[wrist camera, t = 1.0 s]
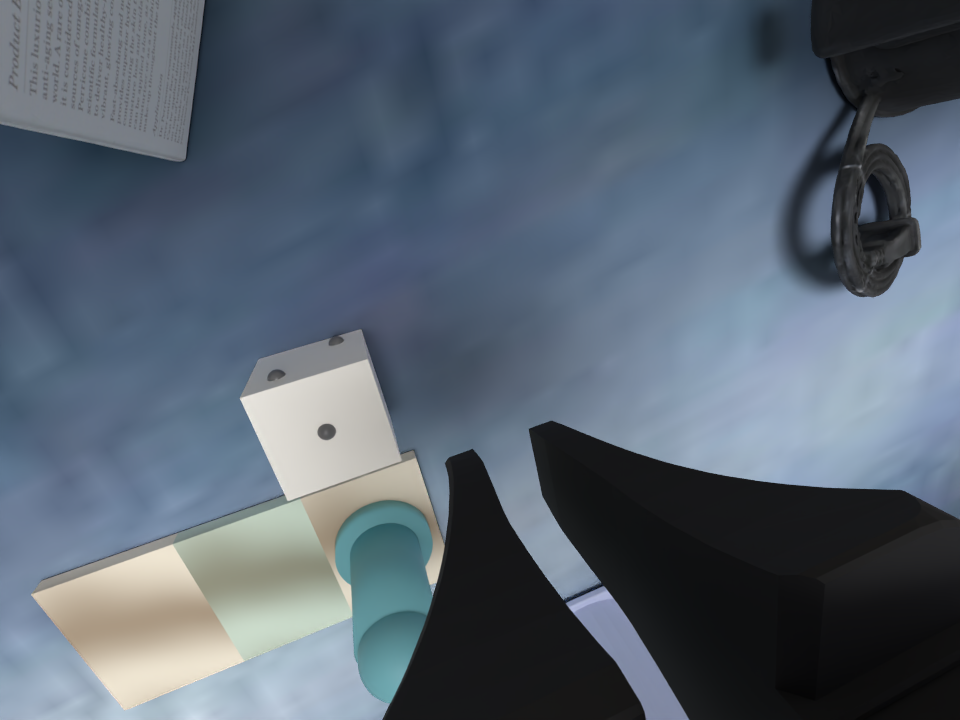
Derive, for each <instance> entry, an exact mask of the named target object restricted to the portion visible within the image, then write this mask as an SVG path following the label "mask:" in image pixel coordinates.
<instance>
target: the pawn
mask: <svg viewBox="0 0 960 720" xmlns="http://www.w3.org/2000/svg"><path fill="white" fill-rule="evenodd" d="M432 548H433V540H432V535H431V532H430V528H429V525H428V522H427V520H426V518H425V516H424V515H423V514H422V512H421V511H420V510H418V509H417V508H416V507H414V506H413V505H411V504H408V503H406V502H402V501H396V500H384V501H378V502H374V503H371V504H368V505H366V506H363V507H362V508H360V509H358V510H357V511H355V512H354V513H352V514H351V515H350V516H349V517H348V518H347V519H346V520H345V521H344V523H343V524H342V526H341V527H340V529H339V531H338V534H337V537H336V541H335V562H336V567H337V570H338V572H339V574H340V576H341V577H342V578H343V579H344V580H345V581H346V582H347V583H348V584H350V585H351V595H352V618H353V641H354V656H355V659H356V662H357V663H358V669H359V674H360V677H361V680H362V682H363V684H364V685H365V687H366V688H367V690H368V691H369V692H370V693H371V694H372V695H373V696H374V697H376V698H377V699H379V700H381V701H383V702H386V703H391V701H392V699H393V697H394V695H395V693H396V691H397V689H398V687H399V685H400V683H401V681H402V678H403V676H404V674H405V671H406V669H407V667H408V664H409V662H410V659H411V657H412V654H413V652H414V649H415V647H416V644H417V641H418V639H419V636H420V634H421V631H422V629H423V626H424V623H425V620H426V617H427V614H428V611H429V608H430V605H431V601H432V598H433V596H432V592H431V588H430V584H429V580H428V576H427V572H426V568H425V566H426V565H427V563H428V561H429V559H430V556H431V553H432Z"/></svg>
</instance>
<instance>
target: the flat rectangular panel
mask: <svg viewBox="0 0 960 720" xmlns="http://www.w3.org/2000/svg"><path fill="white" fill-rule="evenodd" d="M401 459H402V461H400V462H397V463H394V464H391V465H389V466H386V467H383V468H380V469H377V470H375V471H372V472H369V473H366V474H363V475H360V476H358V477H355V478H352V479H349V480H346V481H343V482H341V483H338V484H335V485H332V486H329V487H327V488H324V489H321V490H318V491H315V492H312V493H310V494H307V495H304V496H301V497H298V498H295V499H293V500H290V501H287V498H286V496H285V495H284V496H281V497H279V498H276V499H273V500H270V501H267V502H264V503H261V504H259V505H256V506H253V507H250V508H247V509H244V510H242V511H239V512H236V513H233V514H230V515H227V516H225V517H222V518H219V519H216V520H213V521H210V522H207V523H205V524H202V525H199V526H196V527H193V528H190V529H188V530H185V531H182V532H179V533H176V534H173V535H170V536H168V537H165V538H162V539H159V540H156V541H153V542H151V543H148V544H145V545H142V546H139V547H136V548H133V549H131V550H128V551H125V552H122V553H119V554H116V555H114V556H111V557H108V558H105V559H102V560H99V561H96V562H94V563H91V564H88V565H85V566H82V567H79V568H77V569H74V570H71V571H68V572H65V573H62V574H59V575H57V576H54V577H51V578H48V579H45V580H42V581H41V582H40V584H39V585H38V586H37V587H36V589H35V590H34V591H33V593H32V594H31V595H32V596H33V598H34V599H35V600H36V601H37V603H38V604H39V605H40V606H41V608H42V609H43V610H44V611H45V612H46V614H47V615H48V616H49V617H50V619H51V620H52V621H53V622H54V624H55V625H56V626H57V627H58V629H59V630H60V631H61V632H62V634H63V635H64V636H65V637H66V639H67V640H68V641H69V642H70V643H71V645H72V646H73V647H74V648H75V650H76V651H77V652H78V653H79V655H80V656H81V657H82V658H83V660H84V661H85V662H86V663H87V665H88V666H89V667H90V668H91V670H92V671H93V672H94V673H95V674H96V676H97V677H98V678H99V679H100V681H101V682H102V683H103V684H104V686H105V687H106V688H107V689H108V691H109V692H110V693H111V694H112V696H113V697H114V698H115V699H116V700H117V702H118V703H119V704H120V705H121V707H122V708H123V709H124V710H127V709H130V708H132V707H135V706H137V705H140V704H142V703H144V702H147V701H149V700H152V699H154V698H157V697H159V696H161V695H164V694H166V693H169V692H171V691H174V690H176V689H178V688H181V687H183V686H186V685H188V684H191V683H193V682H196V681H198V680H200V679H203V678H205V677H208V676H210V675H213V674H215V673H217V672H220V671H222V670H225V669H227V668H230V667H232V666H234V665H237V664H239V663H242V662H244V661H247V660H249V659H251V658H254V657H256V656H259V655H261V654H264V653H266V652H269V651H271V650H273V649H276V648H278V647H281V646H283V645H286V644H288V643H290V642H293V641H295V640H298V639H300V638H303V637H305V636H307V635H310V634H312V633H315V632H317V631H320V630H322V629H324V628H327V627H329V626H332V625H334V624H337V623H339V622H341V621H344V620H346V619H349V618H351V617H352V595H351V585H350V584H348V583H347V582H346V581H345V580H344V579H343V578H342V577H341V576H340V574H339V572H338V570H337V567H336V562H335V541H336V537H337V534H338V531H339V529H340V527H341V526H342V524H343V523H344V521H345V520H346V519H347V518H348V517H349V516H350V515H351V514H352V513H354V512H355V511H357V510H358V509H360V508H362V507H363V506H366V505H368V504H371V503H374V502H378V501H384V500H396V501H402V502H406V503H408V504H411V505H413V506H414V507H416V508H417V509H418V510H420V511H421V512H422V514H423V515H424V516H425V518H426V520H427V522H428V525H429V528H430V532H431V535H432V540H433V548H432V553H431V556H430V559H429V561H428V563H427V565H426V566H425V568H426V572H427V576H428V580H429V584H430V585H431V584H434V583H436V582H437V580H438V576H439V572H440V568H441V563H442V558H443V553H444V547H445V545H444V542H443V539H442V536H441V533H440V530H439V527H438V524H437V521H436V518H435V515H434V511H433V508H432V505H431V502H430V499H429V496H428V493H427V490H426V487H425V484H424V481H423V477H422V474H421V471H420V468H419V465H418V462H417V459H416V456H415V453H414V450H412V451H409V452H407V453H404V454H401Z"/></svg>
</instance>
